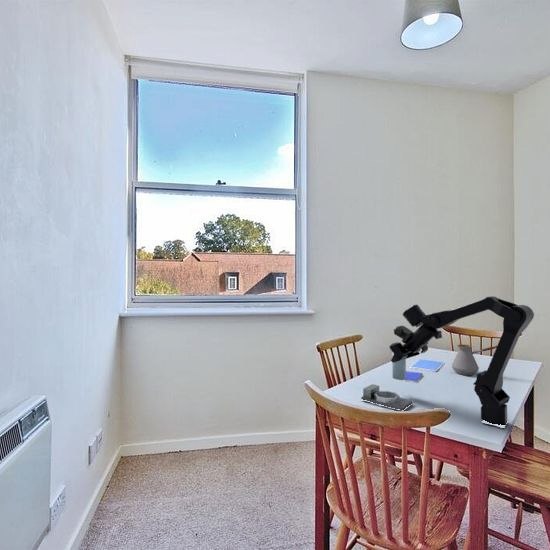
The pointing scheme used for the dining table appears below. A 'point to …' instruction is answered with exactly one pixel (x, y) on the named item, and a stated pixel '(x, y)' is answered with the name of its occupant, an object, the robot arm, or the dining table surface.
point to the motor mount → (385, 397)
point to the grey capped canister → (399, 369)
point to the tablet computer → (427, 365)
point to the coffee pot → (466, 360)
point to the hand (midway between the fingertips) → (395, 360)
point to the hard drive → (413, 376)
